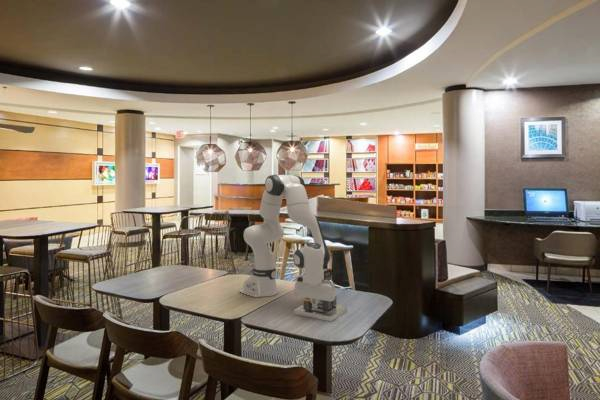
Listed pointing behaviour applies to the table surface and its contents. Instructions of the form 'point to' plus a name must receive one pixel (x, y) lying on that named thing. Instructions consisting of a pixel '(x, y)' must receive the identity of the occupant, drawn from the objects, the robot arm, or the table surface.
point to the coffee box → (327, 276)
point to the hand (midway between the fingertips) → (314, 307)
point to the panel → (322, 312)
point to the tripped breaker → (307, 304)
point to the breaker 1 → (326, 305)
